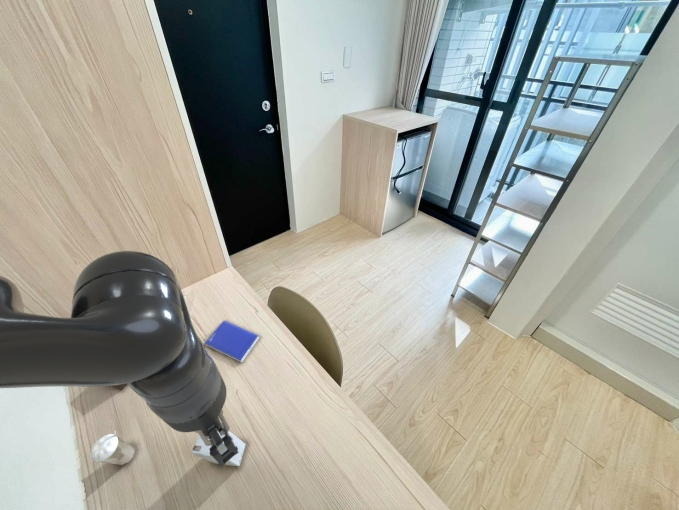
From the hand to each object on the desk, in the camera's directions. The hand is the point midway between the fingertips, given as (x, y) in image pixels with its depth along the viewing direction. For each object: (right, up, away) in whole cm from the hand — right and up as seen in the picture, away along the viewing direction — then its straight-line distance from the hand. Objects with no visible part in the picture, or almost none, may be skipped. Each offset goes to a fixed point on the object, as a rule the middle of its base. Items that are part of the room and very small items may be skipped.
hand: (215, 424), depth 44 cm
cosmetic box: (-4, -16, +15) cm, 22 cm away
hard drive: (-10, +3, +34) cm, 35 cm away
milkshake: (-26, -15, +14) cm, 33 cm away
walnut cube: (-36, -3, +26) cm, 45 cm away
